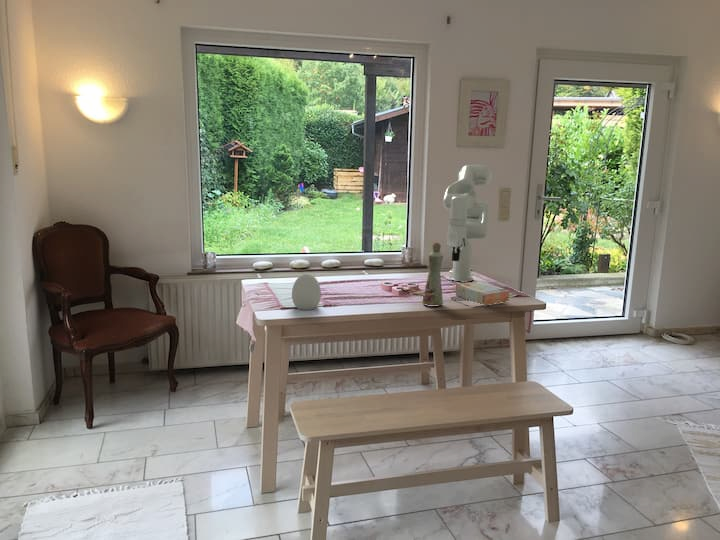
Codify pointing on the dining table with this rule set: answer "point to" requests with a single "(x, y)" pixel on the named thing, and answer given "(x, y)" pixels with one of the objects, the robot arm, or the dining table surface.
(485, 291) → the cracker box
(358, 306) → the dining table surface
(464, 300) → the mat
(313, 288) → the decorative egg
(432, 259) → the bottle
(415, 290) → the turner
